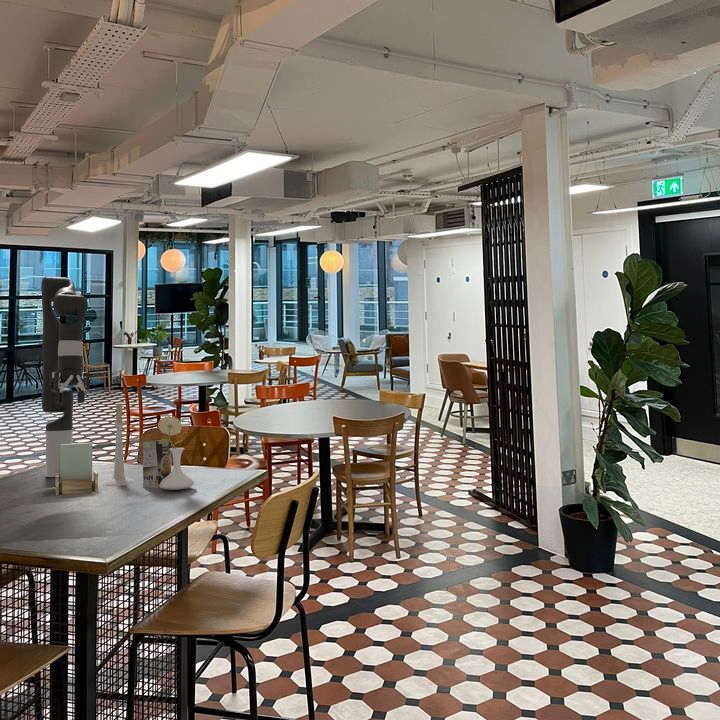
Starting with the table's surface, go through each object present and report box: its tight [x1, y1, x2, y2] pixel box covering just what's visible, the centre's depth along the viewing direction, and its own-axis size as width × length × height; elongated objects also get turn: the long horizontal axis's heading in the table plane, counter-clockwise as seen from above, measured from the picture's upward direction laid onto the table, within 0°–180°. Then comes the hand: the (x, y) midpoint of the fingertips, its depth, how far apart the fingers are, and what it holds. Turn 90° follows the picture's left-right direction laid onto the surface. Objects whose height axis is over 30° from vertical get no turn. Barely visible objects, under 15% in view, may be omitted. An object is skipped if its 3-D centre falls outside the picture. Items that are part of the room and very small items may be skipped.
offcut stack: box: [61, 477, 93, 495], centre depth 211 cm, size 4×9×4 cm, turn 116°
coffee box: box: [142, 439, 172, 489], centre depth 222 cm, size 9×6×16 cm
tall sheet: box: [59, 442, 93, 485], centre depth 216 cm, size 3×10×16 cm, turn 116°
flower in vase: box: [157, 415, 195, 491], centre depth 213 cm, size 13×11×25 cm
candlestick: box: [101, 403, 136, 487], centre depth 227 cm, size 13×13×30 cm
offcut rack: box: [55, 470, 99, 496], centre depth 213 cm, size 10×13×6 cm
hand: (70, 403), depth 207 cm, fingers open, 8 cm apart
